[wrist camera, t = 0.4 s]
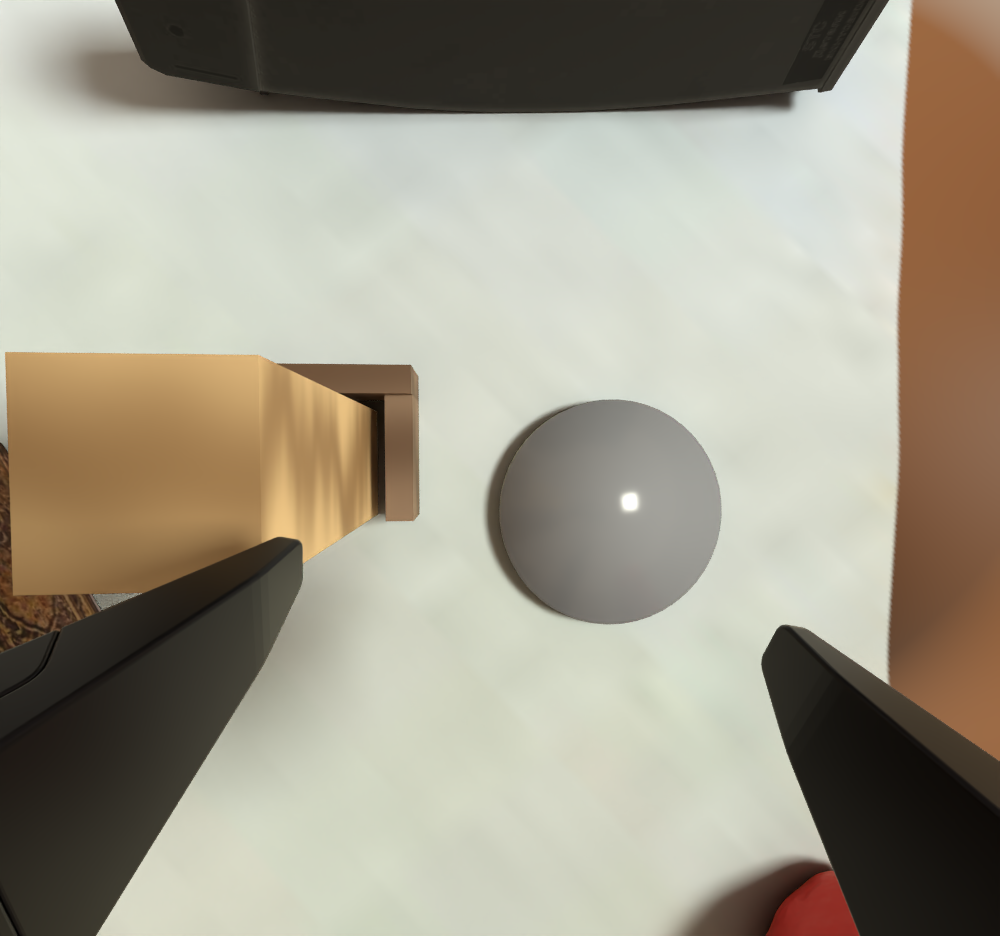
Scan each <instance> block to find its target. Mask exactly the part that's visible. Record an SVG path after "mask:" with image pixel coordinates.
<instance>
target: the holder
mask: <svg viewBox="0 0 1000 936" xmlns="http://www.w3.org/2000/svg"><path fill="white" fill-rule="evenodd" d="M278 365H280V366H282V367H284V368H287V369H289V370H291V371H293V372H295V373H297V374H299V375H301V376H303V377H306V378H308V379H310V380H312V381H314V382H316V383H318V384H320V385H322V386H324V387H327V388H329V389H331V390H333V391H335V392H337V393H339V394H341V395H343V396H345V397H348V398H350V399H352V400H354V401H385V498H386V521H414V520H415V518H416V517H417V516H418V515H419V406H418V375H417V374H416V372H415V371H414V369H413V368H412V366H411V365H366V364H278Z"/></svg>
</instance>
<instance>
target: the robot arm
mask: <svg viewBox="0 0 1000 936" xmlns="http://www.w3.org/2000/svg"><path fill="white" fill-rule="evenodd" d="M302 579H303V546H302V542H301V541H300V540H298V539H292V538H287V537H276V538H273V539H271V540H268V541H266V542H263V543H261V544H259V545H256V546H254V547H252V548H249V549H247V550H244V551H242V552H240V553H237V554H235V555H233V556H230V557H228V558H225V559H223V560H221V561H218V562H216V563H214V564H211V565H209V566H206V567H204V568H202V569H199V570H197V571H195V572H192V573H190V574H187V575H185V576H183V577H180V578H178V579H176V580H173V581H171V582H168V583H166V584H164V585H161V586H159V587H157V588H154V589H152V590H149V591H147V592H145V593H142V594H140V595H138V596H135V597H133V598H130V599H128V600H126V601H123V602H121V603H119V604H116V605H114V606H111V607H109V608H107V609H104V610H102V611H100V612H97V613H95V614H92V615H90V616H88V617H85V618H83V619H80V620H78V621H76V622H73V623H71V624H69V625H66V626H64V627H62V628H61V630H60V632H59V631H58V630H54V631H52V632H49V633H47V634H45V635H42V636H40V637H38V638H35V639H33V640H30V641H28V642H26V643H23V644H21V645H18V646H16V647H13V648H11V649H8V650H6V651H4V652H1V653H0V936H96V935H97V933H98V932H99V930H100V928H101V927H102V925H103V924H104V922H105V920H106V919H107V917H108V916H109V914H110V912H111V911H112V909H113V907H114V906H115V904H116V903H117V901H118V899H119V898H120V896H121V895H122V893H123V891H124V890H125V888H126V886H127V885H128V883H129V882H130V880H131V878H132V877H133V875H134V873H135V872H136V870H137V869H138V867H139V865H140V864H141V862H142V861H143V859H144V857H145V856H146V854H147V852H148V851H149V849H150V848H151V846H152V844H153V843H154V841H155V840H156V838H157V836H158V835H159V833H160V831H161V830H162V828H163V827H164V825H165V823H166V822H167V820H168V819H169V817H170V815H171V814H172V812H173V810H174V809H175V807H176V806H177V804H178V802H179V801H180V799H181V798H182V796H183V794H184V793H185V791H186V789H187V788H188V786H189V785H190V783H191V781H192V780H193V778H194V777H195V775H196V773H197V772H198V770H199V768H200V767H201V765H202V764H203V762H204V760H205V759H206V757H207V755H208V754H209V752H210V751H211V749H212V747H213V746H214V744H215V743H216V741H217V739H218V738H219V736H220V734H221V733H222V731H223V730H224V728H225V726H226V725H227V723H228V722H229V720H230V718H231V717H232V715H233V713H234V712H235V710H236V709H237V707H238V705H239V704H240V702H241V701H242V699H243V697H244V696H245V694H246V692H247V691H248V689H249V688H250V686H251V684H252V683H253V681H254V680H255V678H256V676H257V675H258V673H259V671H260V669H261V668H262V666H263V664H264V663H265V661H266V659H267V657H268V655H269V653H270V651H271V649H272V646H273V644H274V642H275V640H276V638H277V636H278V634H279V632H280V630H281V628H282V625H283V623H284V621H285V619H286V617H287V615H288V613H289V611H290V609H291V607H292V604H293V602H294V600H295V598H296V596H297V594H298V592H299V590H300V587H301V584H302ZM761 665H762V672H763V675H764V678H765V682H766V685H767V689H768V692H769V695H770V699H771V702H772V706H773V709H774V712H775V716H776V719H777V723H778V726H779V729H780V733H781V736H782V739H783V742H784V745H785V749H786V752H787V754H788V757H789V760H790V762H791V765H792V768H793V770H794V773H795V775H796V778H797V780H798V783H799V785H800V788H801V790H802V793H803V795H804V798H805V800H806V803H807V805H808V808H809V810H810V813H811V815H812V818H813V820H814V823H815V825H816V828H817V830H818V833H819V835H820V838H821V840H822V843H823V845H824V848H825V850H826V853H827V855H828V858H829V860H830V863H831V865H832V868H833V870H834V873H835V876H836V878H837V881H838V883H839V886H840V888H841V891H842V893H843V896H844V898H845V901H846V903H847V906H848V908H849V911H850V913H851V916H852V918H853V921H854V923H855V926H856V928H857V931H858V933H859V936H1000V761H998V760H997V759H996V758H994V757H993V756H991V755H990V754H988V753H987V752H985V751H984V750H982V749H981V748H980V747H978V746H976V745H975V744H973V743H972V742H971V741H969V740H968V739H966V738H965V737H963V736H962V735H961V734H959V733H958V732H956V731H955V730H953V729H952V728H950V727H949V726H947V725H946V724H945V723H943V722H942V721H940V720H939V719H937V718H936V717H934V716H933V715H931V714H930V713H928V712H927V711H926V710H924V709H923V708H921V707H920V706H918V705H917V704H915V703H914V702H913V701H911V700H910V699H908V698H906V697H905V696H904V695H902V694H901V693H899V692H898V691H896V690H895V689H894V688H892V687H891V686H889V685H888V684H886V683H885V682H883V681H882V680H881V679H879V678H878V677H876V676H875V675H873V674H872V673H870V672H869V671H867V670H866V669H865V668H863V667H862V666H860V665H859V664H857V663H856V662H854V661H853V660H851V659H850V658H848V657H847V656H846V655H844V654H843V653H841V652H840V651H838V650H837V649H835V648H834V647H832V646H831V645H830V644H828V643H827V642H825V641H824V640H822V639H821V638H819V637H818V636H816V635H815V634H814V633H812V632H811V631H809V630H808V629H805V628H803V627H797V626H791V625H781V626H780V627H779V628H777V630H776V632H775V634H774V635H773V637H772V639H771V641H770V643H769V645H768V647H767V648H766V650H765V652H764V654H763V656H762V662H761Z"/></svg>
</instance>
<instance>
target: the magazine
mask: <svg viewBox="0 0 1000 936" xmlns="http://www.w3.org/2000/svg"><path fill="white" fill-rule="evenodd" d="M888 1H889V0H115V2H116V4H117V6H118V8H119V11H120V13H121V15H122V17H123V20H124V22H125V24H126V26H127V29H128V31H129V33H130V35H131V38H132V40H133V42H134V44H135V47H136V49H137V51H138V53H139V56H140V58H141V60H142V61H143V62H144V63H146V64H147V65H148V66H149V67H150V68H152V69H154V70H157V71H159V72H161V73H163V74H165V75H169V76H175V77H180V78H186V79H191V80H197V81H203V82H208V83H214V84H219V85H225V86H231V87H236V88H242V89H247V90H253V91H260V94H262V95H268V94H269V92H273V93H280V94H288V95H296V96H303V97H312V98H321V99H330V100H340V101H349V102H358V103H368V104H377V105H386V106H395V107H405V108H416V109H433V110H449V111H476V112H554V111H587V110H604V109H621V108H635V107H647V106H660V105H672V104H681V103H691V102H700V101H709V100H718V99H727V98H736V97H746V96H755V95H764V94H773V93H782V92H792V91H801V90H810V89H818V92H825V91H830V90H832V89H833V87H834V85H835V84H836V82H837V81H838V79H839V78H840V76H841V74H842V73H843V71H844V70H845V68H846V67H847V65H848V64H849V62H850V60H851V59H852V57H853V56H854V54H855V53H856V51H857V49H858V48H859V46H860V45H861V43H862V42H863V40H864V39H865V37H866V35H867V34H868V32H869V31H870V29H871V28H872V26H873V25H874V23H875V21H876V20H877V18H878V17H879V15H880V14H881V12H882V10H883V9H884V7H885V6H886V4H887V3H888Z"/></svg>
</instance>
